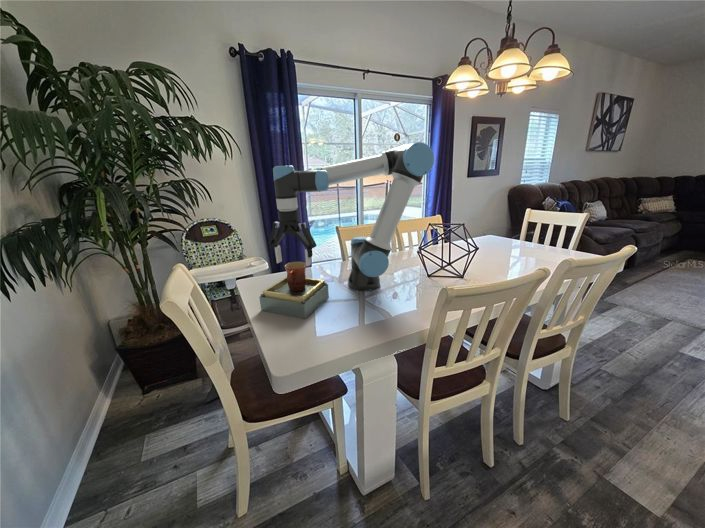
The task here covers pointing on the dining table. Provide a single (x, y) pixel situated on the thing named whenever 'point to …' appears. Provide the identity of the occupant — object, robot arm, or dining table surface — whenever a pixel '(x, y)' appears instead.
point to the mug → (296, 275)
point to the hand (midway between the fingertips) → (293, 263)
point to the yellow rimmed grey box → (294, 298)
